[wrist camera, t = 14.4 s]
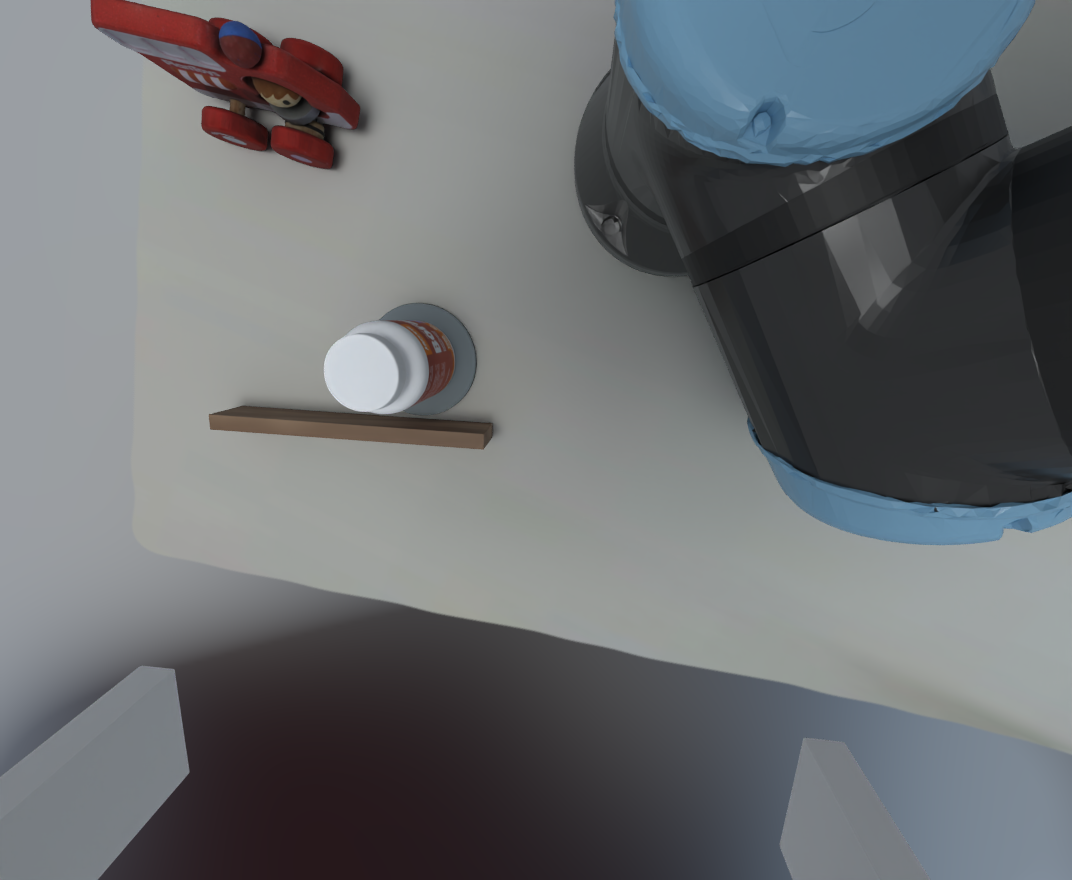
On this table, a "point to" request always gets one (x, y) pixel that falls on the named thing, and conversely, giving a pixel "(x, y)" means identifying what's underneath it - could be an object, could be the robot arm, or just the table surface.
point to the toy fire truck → (241, 76)
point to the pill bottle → (389, 365)
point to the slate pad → (462, 352)
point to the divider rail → (353, 426)
